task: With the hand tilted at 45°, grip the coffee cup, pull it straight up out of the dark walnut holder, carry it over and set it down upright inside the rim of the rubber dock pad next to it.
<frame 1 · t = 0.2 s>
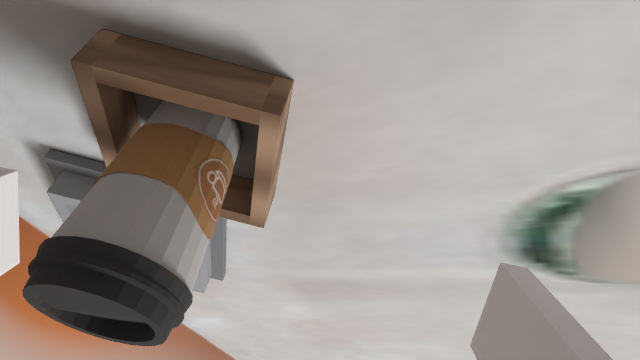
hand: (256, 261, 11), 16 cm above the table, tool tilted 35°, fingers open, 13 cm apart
coffee cup: (203, 123, 31), resting in walnut holder
walnut holder: (202, 125, 31), on the table
dock pad: (151, 220, 43), on the table
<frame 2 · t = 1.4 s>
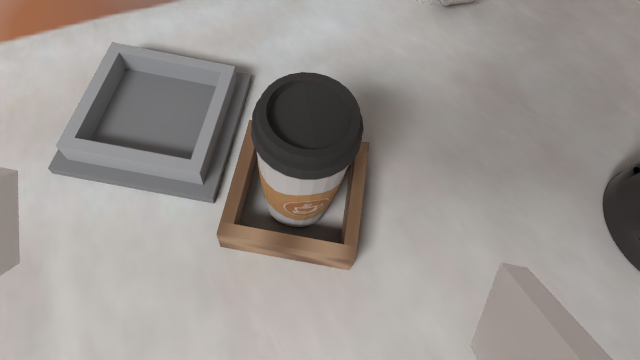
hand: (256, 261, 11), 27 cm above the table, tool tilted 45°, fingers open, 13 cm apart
coffee cup: (296, 200, 42), resting in walnut holder
walnut holder: (296, 200, 42), on the table
dock pad: (160, 123, 44), on the table
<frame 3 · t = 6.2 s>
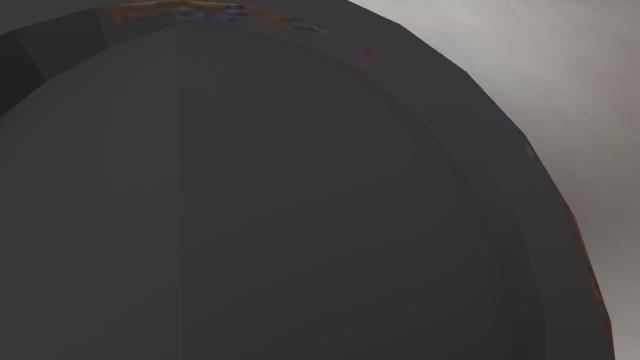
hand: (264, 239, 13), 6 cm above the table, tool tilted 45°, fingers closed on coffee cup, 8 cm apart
when the fingers open (9 cm above the table, at t = 11.5 s): coffee cup drops 1 cm, resting on dock pad.
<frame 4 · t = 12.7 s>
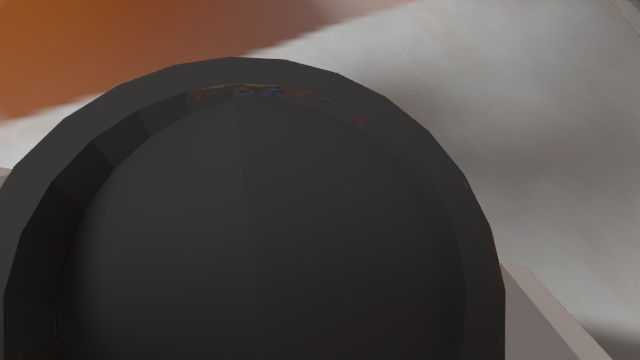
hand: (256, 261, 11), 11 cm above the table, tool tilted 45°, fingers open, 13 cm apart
coffee cup: (259, 345, 19), point 1 cm above the table, touching dock pad
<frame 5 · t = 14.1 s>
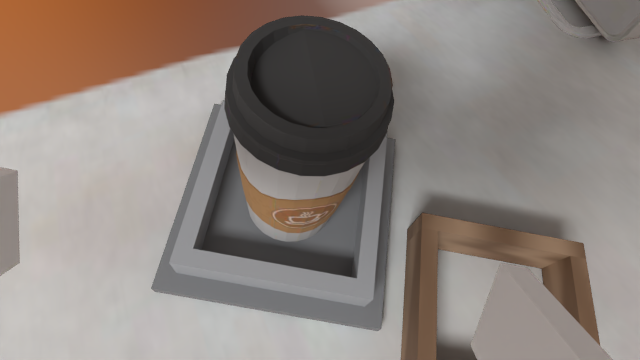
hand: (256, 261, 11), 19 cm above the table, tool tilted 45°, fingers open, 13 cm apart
coffee cup: (289, 206, 32), point 1 cm above the table, touching dock pad
walnut holder: (484, 321, 31), on the table
dock pad: (288, 209, 33), on the table
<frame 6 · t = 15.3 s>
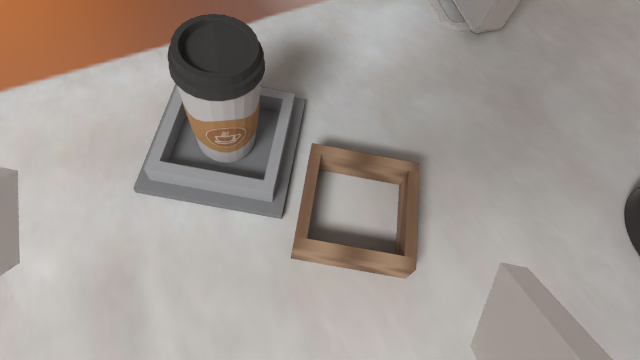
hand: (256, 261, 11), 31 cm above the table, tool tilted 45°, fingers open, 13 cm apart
coffee cup: (227, 141, 48), point 1 cm above the table, touching dock pad
walnut holder: (354, 215, 47), on the table
dock pad: (227, 144, 49), on the table
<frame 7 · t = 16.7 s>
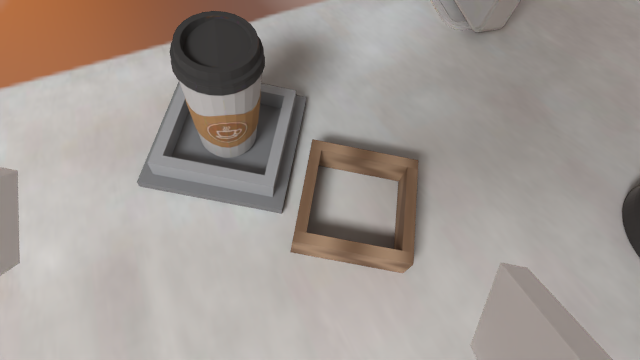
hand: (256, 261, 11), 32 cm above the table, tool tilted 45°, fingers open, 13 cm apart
coffee cup: (229, 137, 49), point 1 cm above the table, touching dock pad
walnut holder: (353, 210, 47), on the table
dock pad: (229, 140, 49), on the table
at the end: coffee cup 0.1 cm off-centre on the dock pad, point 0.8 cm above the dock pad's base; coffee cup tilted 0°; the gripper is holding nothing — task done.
